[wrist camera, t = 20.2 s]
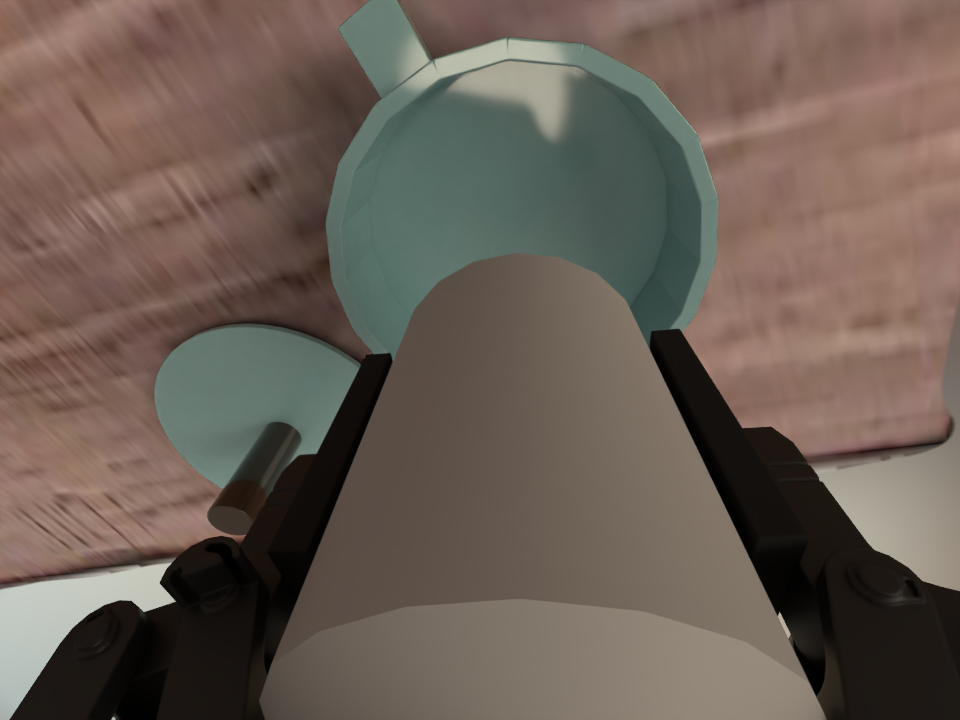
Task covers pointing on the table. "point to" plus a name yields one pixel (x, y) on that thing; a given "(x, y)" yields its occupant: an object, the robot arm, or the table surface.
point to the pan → (513, 176)
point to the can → (531, 532)
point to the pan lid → (249, 409)
